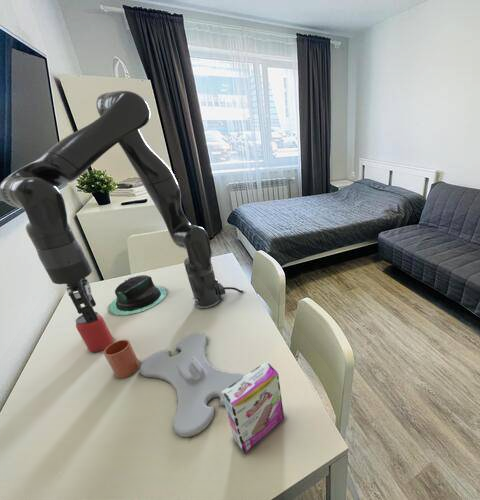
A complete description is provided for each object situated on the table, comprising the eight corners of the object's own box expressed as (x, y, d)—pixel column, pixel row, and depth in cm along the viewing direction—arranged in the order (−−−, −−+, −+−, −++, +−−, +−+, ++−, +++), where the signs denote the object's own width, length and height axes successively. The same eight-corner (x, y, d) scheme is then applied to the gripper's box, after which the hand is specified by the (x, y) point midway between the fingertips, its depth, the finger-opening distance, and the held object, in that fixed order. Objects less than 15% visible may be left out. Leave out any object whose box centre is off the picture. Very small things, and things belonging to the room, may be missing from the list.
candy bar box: (245, 456, 59) (231, 407, 52) (233, 439, 62) (219, 391, 55) (286, 418, 66) (278, 371, 59) (274, 405, 69) (266, 359, 62)
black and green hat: (147, 313, 103) (94, 317, 103) (175, 306, 122) (130, 309, 121) (146, 274, 104) (93, 278, 104) (174, 273, 123) (129, 276, 122)
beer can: (100, 354, 86) (84, 325, 81) (83, 351, 88) (67, 322, 82) (118, 339, 92) (105, 311, 87) (103, 337, 93) (88, 309, 88)
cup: (137, 358, 85) (127, 336, 81) (141, 370, 80) (131, 347, 77) (114, 369, 81) (102, 346, 77) (116, 382, 77) (104, 359, 73)
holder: (183, 446, 61) (177, 433, 59) (137, 366, 81) (131, 354, 79) (255, 389, 74) (252, 376, 72) (199, 332, 94) (196, 321, 92)
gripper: (85, 265, 63) (112, 320, 70) (84, 247, 72) (107, 296, 79) (41, 276, 58) (73, 334, 65) (45, 255, 68) (73, 307, 75)
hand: (92, 313), depth 72 cm, fingers open, 8 cm apart
